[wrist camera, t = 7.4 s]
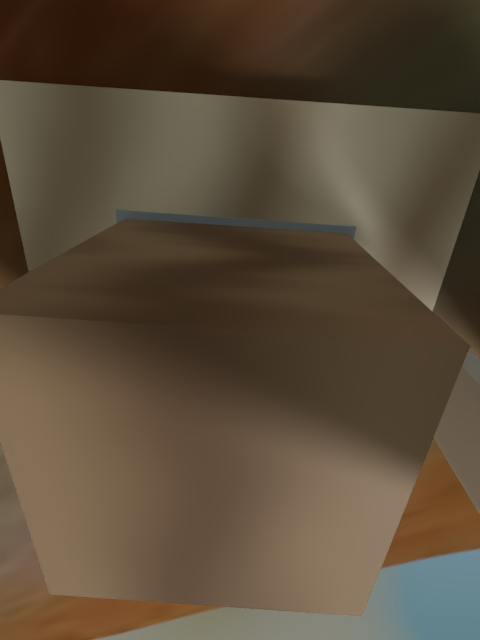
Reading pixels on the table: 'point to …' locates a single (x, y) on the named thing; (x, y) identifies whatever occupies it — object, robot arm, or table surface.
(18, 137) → the blueprint plate
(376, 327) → the walnut block
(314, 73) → the table surface
